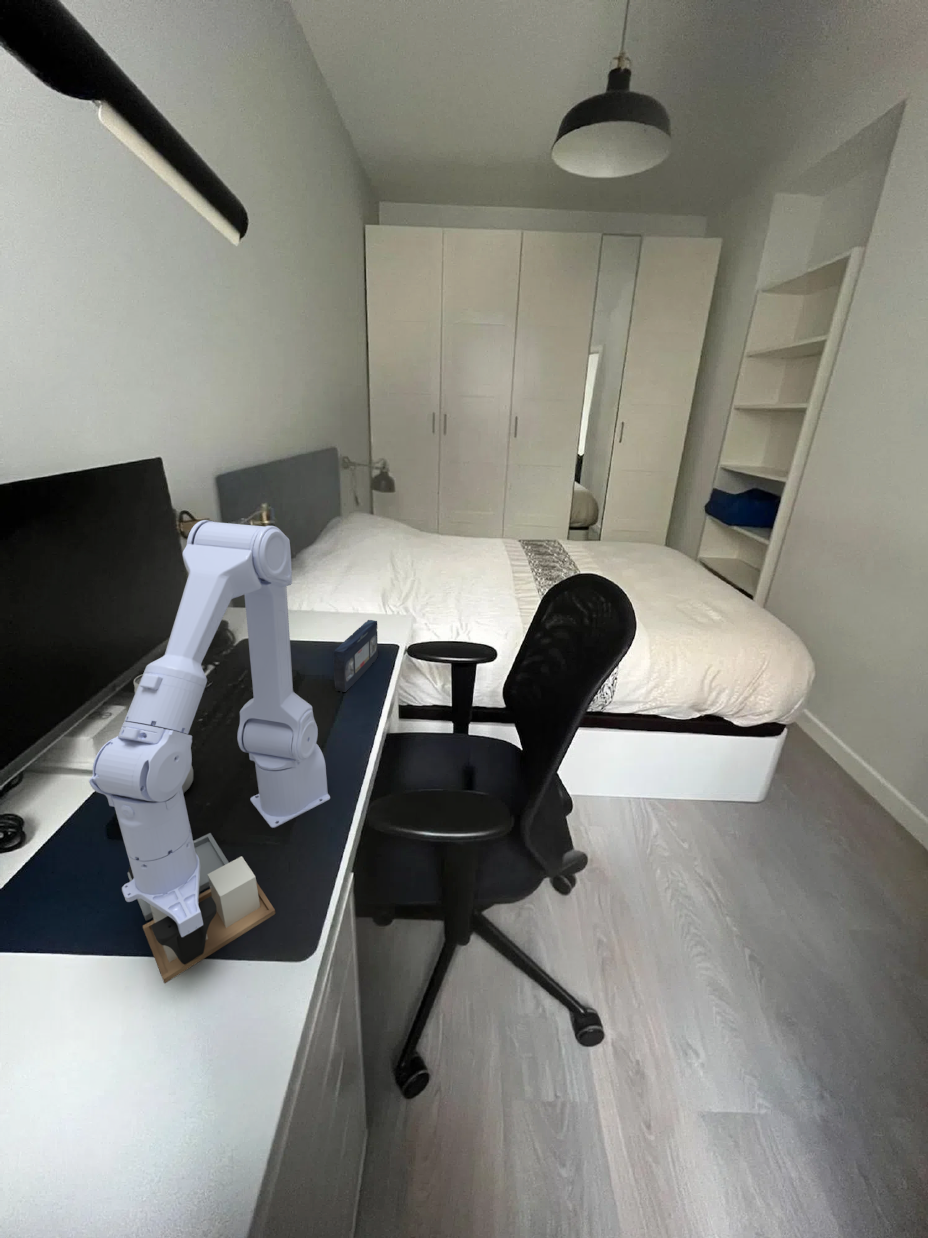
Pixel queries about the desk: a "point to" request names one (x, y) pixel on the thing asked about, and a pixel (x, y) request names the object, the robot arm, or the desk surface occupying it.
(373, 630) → the vhs cassette tape
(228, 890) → the stone
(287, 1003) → the desk surface
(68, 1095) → the desk surface
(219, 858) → the charcoal tray
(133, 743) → the robot arm
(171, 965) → the walnut tray
